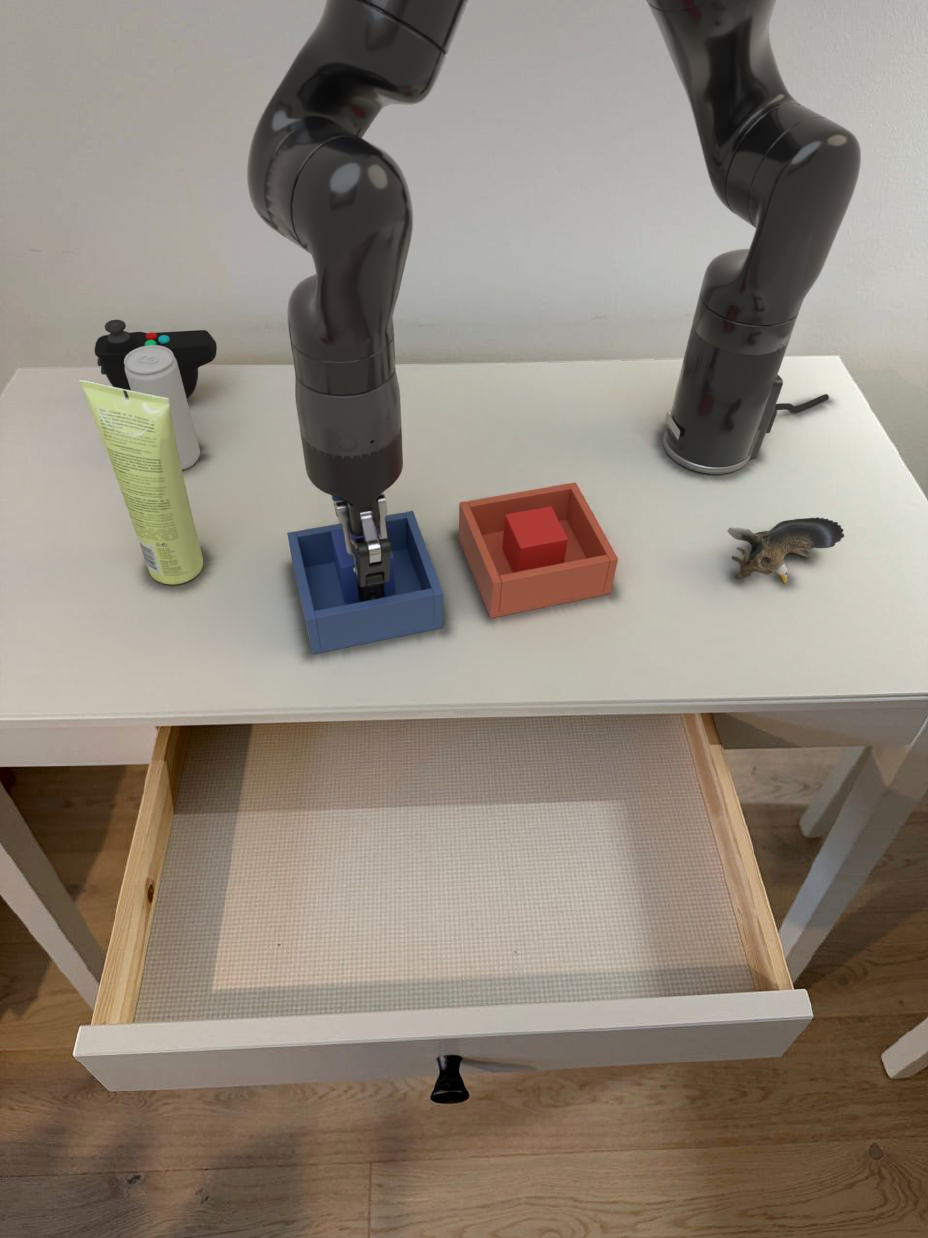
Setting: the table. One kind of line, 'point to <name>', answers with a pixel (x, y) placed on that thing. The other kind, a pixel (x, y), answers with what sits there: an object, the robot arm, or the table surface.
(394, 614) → the blue bin
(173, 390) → the upturned grey cup
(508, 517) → the red block
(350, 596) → the blue block
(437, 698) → the table surface
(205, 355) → the controller
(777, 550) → the eagle figurine
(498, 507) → the red bin
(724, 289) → the robot arm
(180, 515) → the tube
